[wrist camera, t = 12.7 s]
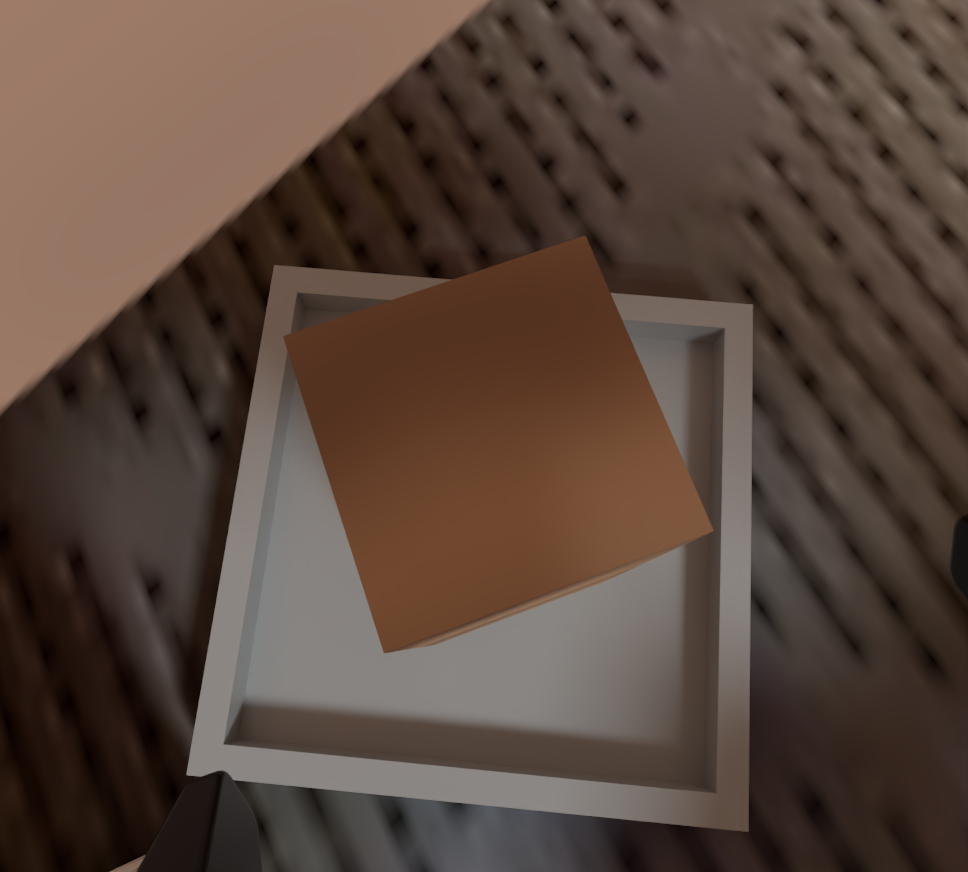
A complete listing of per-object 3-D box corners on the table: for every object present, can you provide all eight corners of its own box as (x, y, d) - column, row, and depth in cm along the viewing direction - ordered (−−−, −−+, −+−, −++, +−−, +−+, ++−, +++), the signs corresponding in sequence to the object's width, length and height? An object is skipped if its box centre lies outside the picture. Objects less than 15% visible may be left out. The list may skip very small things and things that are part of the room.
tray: (724, 813, 21) (748, 832, 19) (213, 762, 22) (186, 775, 20) (732, 330, 25) (752, 304, 23) (290, 293, 25) (274, 265, 23)
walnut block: (604, 581, 22) (713, 531, 11) (435, 644, 22) (383, 653, 11) (540, 420, 23) (585, 235, 12) (378, 476, 23) (283, 336, 12)
